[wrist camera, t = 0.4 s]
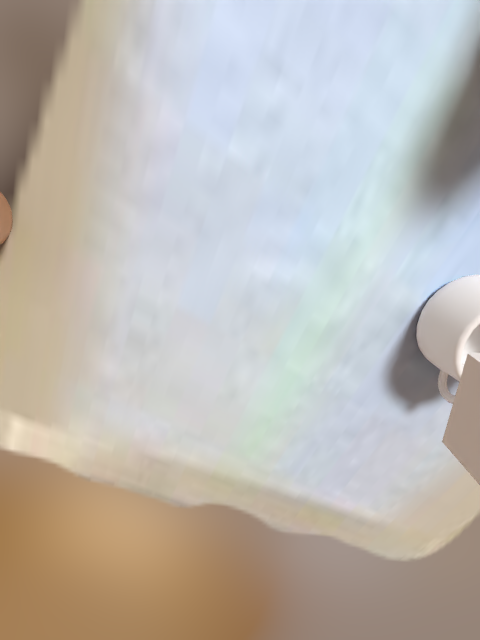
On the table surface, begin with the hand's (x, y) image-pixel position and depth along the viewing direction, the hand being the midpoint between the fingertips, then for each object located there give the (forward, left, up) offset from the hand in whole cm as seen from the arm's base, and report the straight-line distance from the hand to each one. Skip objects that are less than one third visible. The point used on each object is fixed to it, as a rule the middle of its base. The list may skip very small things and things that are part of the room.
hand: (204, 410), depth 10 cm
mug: (+18, +21, -26) cm, 38 cm away
